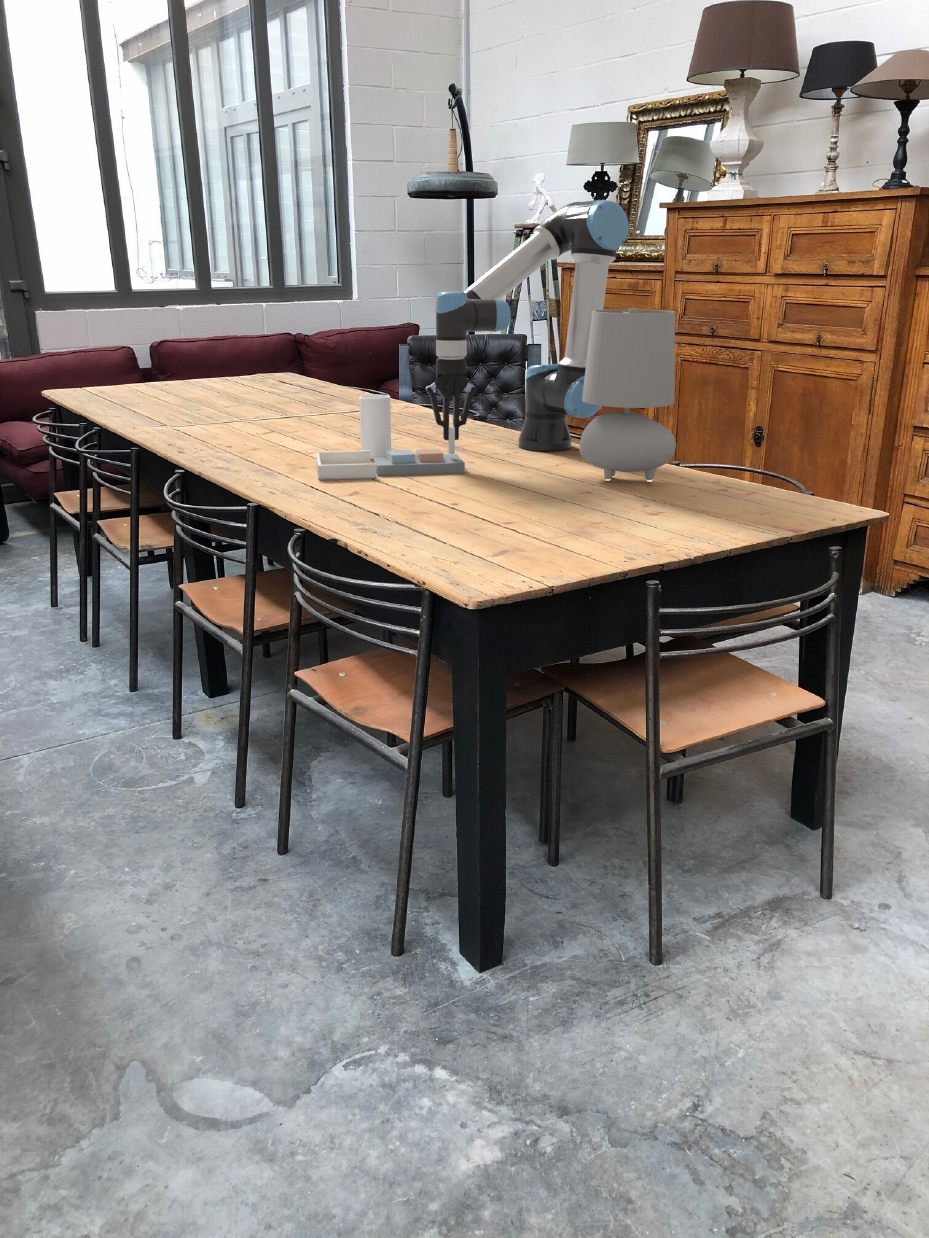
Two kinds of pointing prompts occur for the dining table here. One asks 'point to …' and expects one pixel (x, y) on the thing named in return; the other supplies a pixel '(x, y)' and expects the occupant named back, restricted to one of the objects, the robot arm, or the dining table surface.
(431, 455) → the terracotta tile
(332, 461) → the box
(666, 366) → the table lamp
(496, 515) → the dining table surface
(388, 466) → the board
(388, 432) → the cup
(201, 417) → the dining table surface
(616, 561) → the dining table surface
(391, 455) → the blue tile
